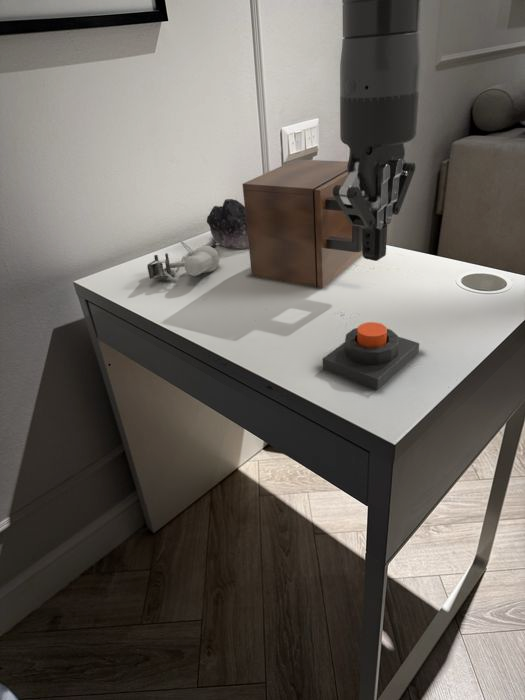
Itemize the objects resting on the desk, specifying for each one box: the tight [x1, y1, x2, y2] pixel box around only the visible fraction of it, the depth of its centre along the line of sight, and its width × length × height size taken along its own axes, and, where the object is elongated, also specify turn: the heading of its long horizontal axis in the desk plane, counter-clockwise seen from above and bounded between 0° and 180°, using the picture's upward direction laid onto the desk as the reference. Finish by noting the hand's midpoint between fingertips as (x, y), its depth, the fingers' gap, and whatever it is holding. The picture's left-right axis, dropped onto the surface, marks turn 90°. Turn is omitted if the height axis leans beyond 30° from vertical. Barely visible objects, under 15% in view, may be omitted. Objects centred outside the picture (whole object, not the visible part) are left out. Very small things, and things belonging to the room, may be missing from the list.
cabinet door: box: [314, 171, 363, 289], centre depth 87 cm, size 7×18×17 cm, turn 148°
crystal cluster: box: [206, 198, 249, 249], centre depth 110 cm, size 13×14×10 cm
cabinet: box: [242, 159, 348, 288], centre depth 92 cm, size 13×18×17 cm
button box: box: [322, 327, 420, 391], centre depth 66 cm, size 10×8×4 cm
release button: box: [356, 321, 388, 347], centre depth 65 cm, size 4×4×2 cm
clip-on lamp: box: [146, 238, 221, 281], centre depth 98 cm, size 12×6×18 cm
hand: (374, 257), depth 59 cm, fingers closed
